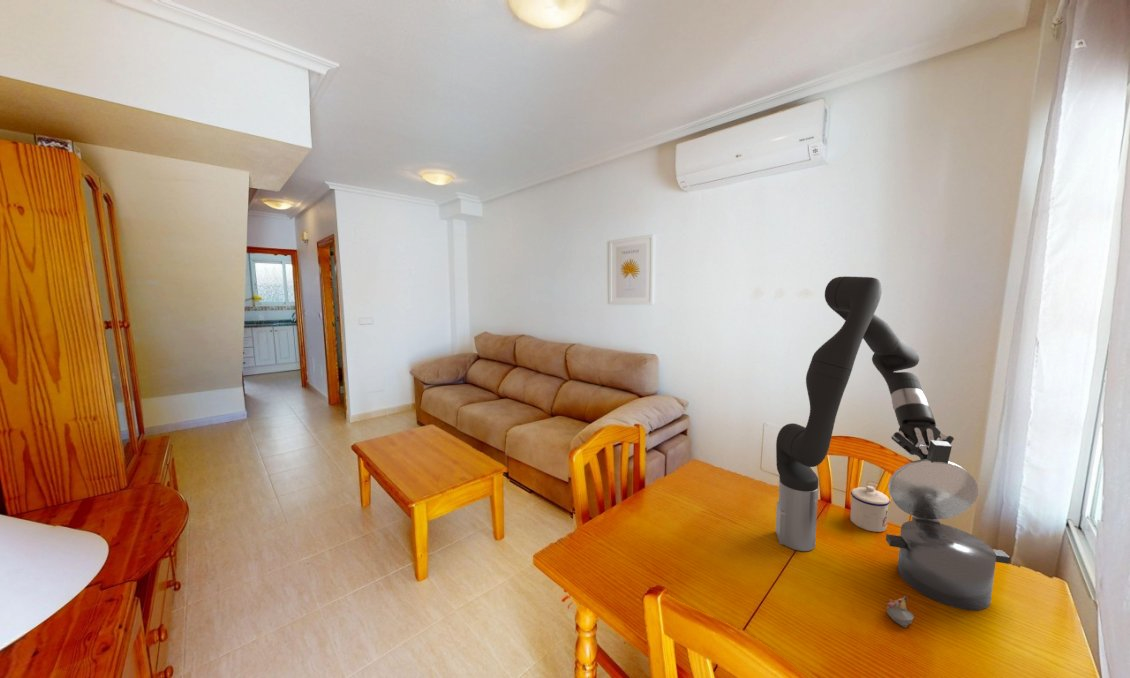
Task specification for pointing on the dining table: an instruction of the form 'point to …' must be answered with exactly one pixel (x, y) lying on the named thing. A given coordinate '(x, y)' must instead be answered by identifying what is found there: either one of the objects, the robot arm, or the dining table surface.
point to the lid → (933, 485)
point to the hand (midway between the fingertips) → (932, 471)
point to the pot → (946, 563)
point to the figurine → (900, 612)
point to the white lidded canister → (869, 509)
